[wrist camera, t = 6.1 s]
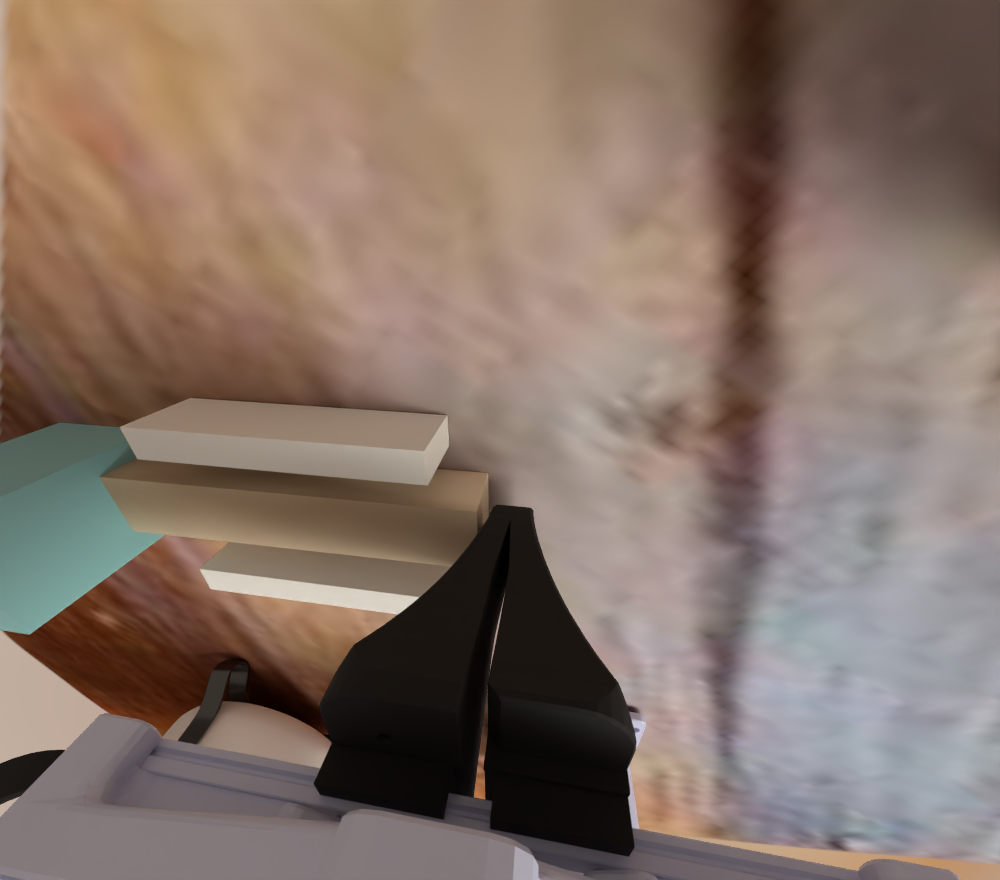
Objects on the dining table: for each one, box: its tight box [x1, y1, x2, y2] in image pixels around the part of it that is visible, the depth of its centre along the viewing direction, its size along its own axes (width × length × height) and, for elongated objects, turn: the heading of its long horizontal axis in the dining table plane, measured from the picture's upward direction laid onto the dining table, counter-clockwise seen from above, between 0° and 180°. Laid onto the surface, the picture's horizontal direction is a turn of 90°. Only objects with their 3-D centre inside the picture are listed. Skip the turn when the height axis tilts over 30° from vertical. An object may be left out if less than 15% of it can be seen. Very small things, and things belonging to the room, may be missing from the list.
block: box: [0, 423, 164, 635], centre depth 13 cm, size 4×4×6 cm
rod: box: [99, 458, 489, 566], centre depth 14 cm, size 3×14×3 cm, turn 90°
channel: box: [120, 398, 451, 614], centre depth 14 cm, size 8×10×2 cm
